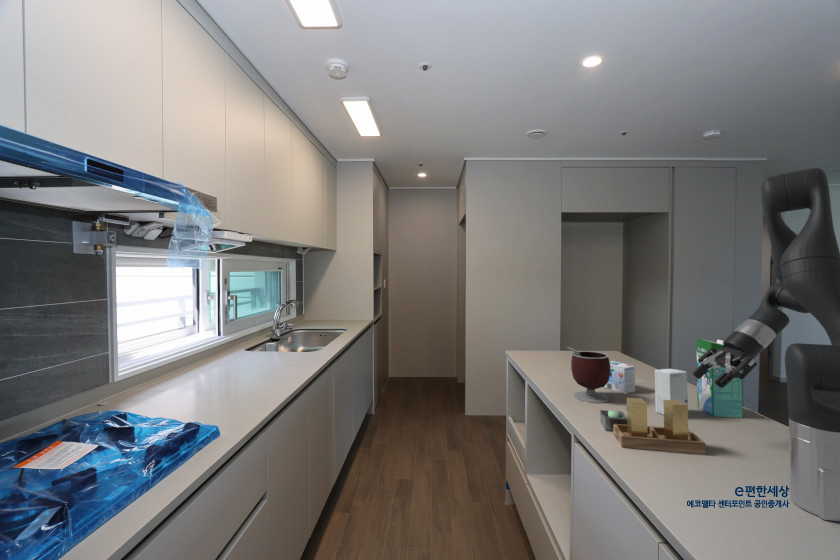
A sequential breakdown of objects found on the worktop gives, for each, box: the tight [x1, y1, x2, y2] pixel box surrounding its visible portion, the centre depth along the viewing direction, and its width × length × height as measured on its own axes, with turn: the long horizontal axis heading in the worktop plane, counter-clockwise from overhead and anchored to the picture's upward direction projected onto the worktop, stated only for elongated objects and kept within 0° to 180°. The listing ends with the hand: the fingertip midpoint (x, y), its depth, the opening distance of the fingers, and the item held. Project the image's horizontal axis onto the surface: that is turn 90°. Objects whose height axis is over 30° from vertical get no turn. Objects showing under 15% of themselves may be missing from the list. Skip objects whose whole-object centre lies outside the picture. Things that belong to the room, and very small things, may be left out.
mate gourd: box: [566, 346, 611, 404], centre depth 141 cm, size 16×14×20 cm
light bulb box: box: [603, 360, 636, 395], centre depth 150 cm, size 11×7×11 cm, turn 25°
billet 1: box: [626, 397, 648, 438], centre depth 103 cm, size 4×4×11 cm
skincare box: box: [654, 368, 689, 416], centre depth 123 cm, size 8×6×15 cm
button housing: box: [599, 409, 627, 432], centre depth 113 cm, size 6×6×4 cm
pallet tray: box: [612, 424, 706, 455], centre depth 102 cm, size 9×20×3 cm, turn 75°
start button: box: [607, 409, 620, 417], centre depth 113 cm, size 3×3×4 cm
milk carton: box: [695, 337, 745, 419], centre depth 123 cm, size 9×9×25 cm
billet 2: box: [663, 400, 689, 441], centre depth 100 cm, size 4×4×11 cm
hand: (706, 380), depth 100 cm, fingers open, 8 cm apart
